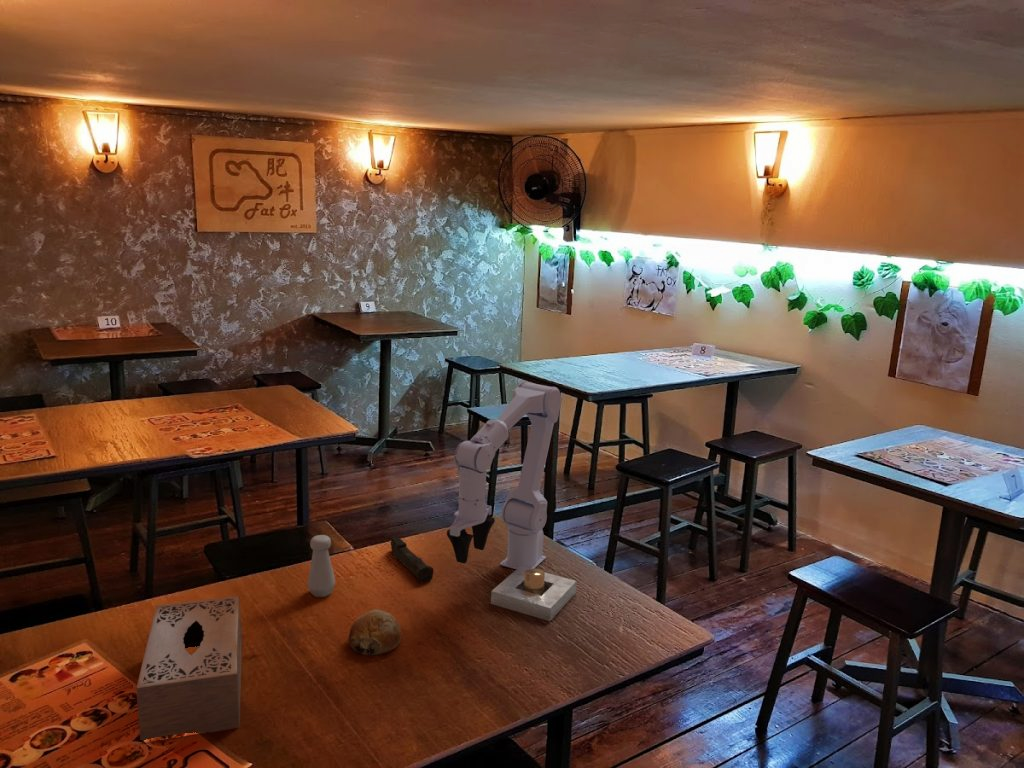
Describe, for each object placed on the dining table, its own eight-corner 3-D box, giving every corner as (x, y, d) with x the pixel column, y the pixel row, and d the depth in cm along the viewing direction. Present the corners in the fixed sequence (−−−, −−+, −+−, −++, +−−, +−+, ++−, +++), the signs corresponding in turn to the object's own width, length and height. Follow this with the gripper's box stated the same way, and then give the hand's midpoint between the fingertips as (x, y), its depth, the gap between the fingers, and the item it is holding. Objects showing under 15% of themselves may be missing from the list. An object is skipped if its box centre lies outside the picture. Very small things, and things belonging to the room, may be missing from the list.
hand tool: (434, 581, 172) (434, 563, 171) (417, 585, 170) (418, 566, 169) (402, 549, 188) (402, 532, 187) (387, 552, 186) (387, 535, 185)
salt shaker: (340, 591, 166) (340, 536, 163) (321, 602, 161) (320, 545, 158) (321, 583, 169) (320, 529, 166) (302, 594, 164) (300, 538, 161)
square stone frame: (520, 577, 175) (520, 565, 174) (575, 593, 169) (576, 580, 168) (491, 603, 163) (491, 591, 162) (549, 621, 157) (550, 608, 156)
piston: (526, 592, 169) (527, 567, 167) (545, 595, 167) (546, 570, 166) (521, 601, 165) (522, 575, 163) (540, 604, 163) (541, 579, 162)
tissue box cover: (159, 654, 140) (156, 605, 138) (241, 643, 145) (239, 595, 143) (140, 745, 117) (136, 688, 115) (239, 728, 121) (237, 673, 119)
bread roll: (404, 663, 146) (418, 623, 147) (365, 662, 139) (380, 620, 140) (373, 643, 153) (386, 604, 154) (333, 640, 145) (348, 600, 146)
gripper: (473, 483, 169) (471, 539, 172) (438, 503, 157) (436, 563, 160) (500, 489, 166) (498, 546, 169) (467, 510, 154) (465, 571, 157)
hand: (470, 555), depth 164 cm, fingers open, 7 cm apart
